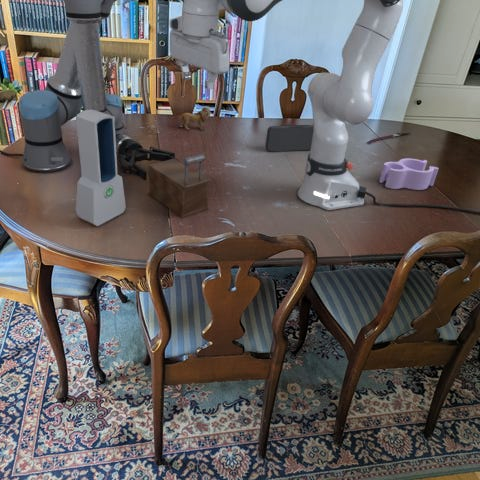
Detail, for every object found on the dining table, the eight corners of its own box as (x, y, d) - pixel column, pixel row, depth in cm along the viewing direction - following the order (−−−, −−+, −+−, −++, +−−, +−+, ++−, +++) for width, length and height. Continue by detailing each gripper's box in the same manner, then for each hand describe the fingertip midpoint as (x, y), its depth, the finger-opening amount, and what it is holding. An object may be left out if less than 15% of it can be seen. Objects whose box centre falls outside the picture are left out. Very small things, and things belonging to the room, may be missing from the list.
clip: (392, 192, 166) (397, 174, 162) (373, 176, 175) (377, 159, 172) (437, 188, 172) (443, 171, 168) (416, 174, 182) (422, 157, 178)
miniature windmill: (115, 134, 188) (111, 55, 172) (96, 130, 189) (89, 52, 173) (124, 127, 195) (121, 51, 179) (105, 123, 196) (100, 48, 180)
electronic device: (94, 228, 128) (85, 122, 112) (75, 219, 131) (63, 114, 115) (126, 211, 138) (122, 111, 121) (108, 203, 141) (101, 104, 124)
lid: (210, 182, 138) (211, 155, 134) (184, 190, 133) (185, 162, 128) (174, 161, 149) (174, 135, 144) (148, 167, 143) (148, 140, 138)
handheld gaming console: (315, 147, 196) (319, 124, 190) (317, 149, 194) (322, 126, 188) (264, 149, 189) (267, 125, 183) (266, 152, 187) (269, 127, 181)
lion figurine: (207, 125, 206) (208, 105, 201) (211, 129, 202) (212, 109, 197) (174, 126, 201) (175, 106, 196) (177, 131, 197) (178, 110, 192)
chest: (207, 208, 144) (208, 182, 139) (182, 217, 138) (182, 189, 133) (173, 187, 154) (174, 161, 149) (149, 194, 148) (148, 167, 143)
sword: (405, 131, 223) (406, 129, 223) (410, 133, 221) (411, 131, 221) (362, 143, 208) (363, 140, 207) (367, 145, 206) (368, 143, 205)
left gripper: (157, 151, 171) (193, 172, 158) (95, 166, 155) (130, 191, 143) (157, 132, 167) (194, 152, 154) (93, 145, 151) (129, 169, 139)
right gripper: (237, 33, 109) (233, 92, 117) (185, 18, 121) (184, 73, 129) (217, 34, 106) (213, 96, 113) (165, 19, 118) (165, 75, 125)
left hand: (163, 171), depth 149 cm, fingers open, 13 cm apart
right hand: (197, 83), depth 121 cm, fingers open, 8 cm apart
